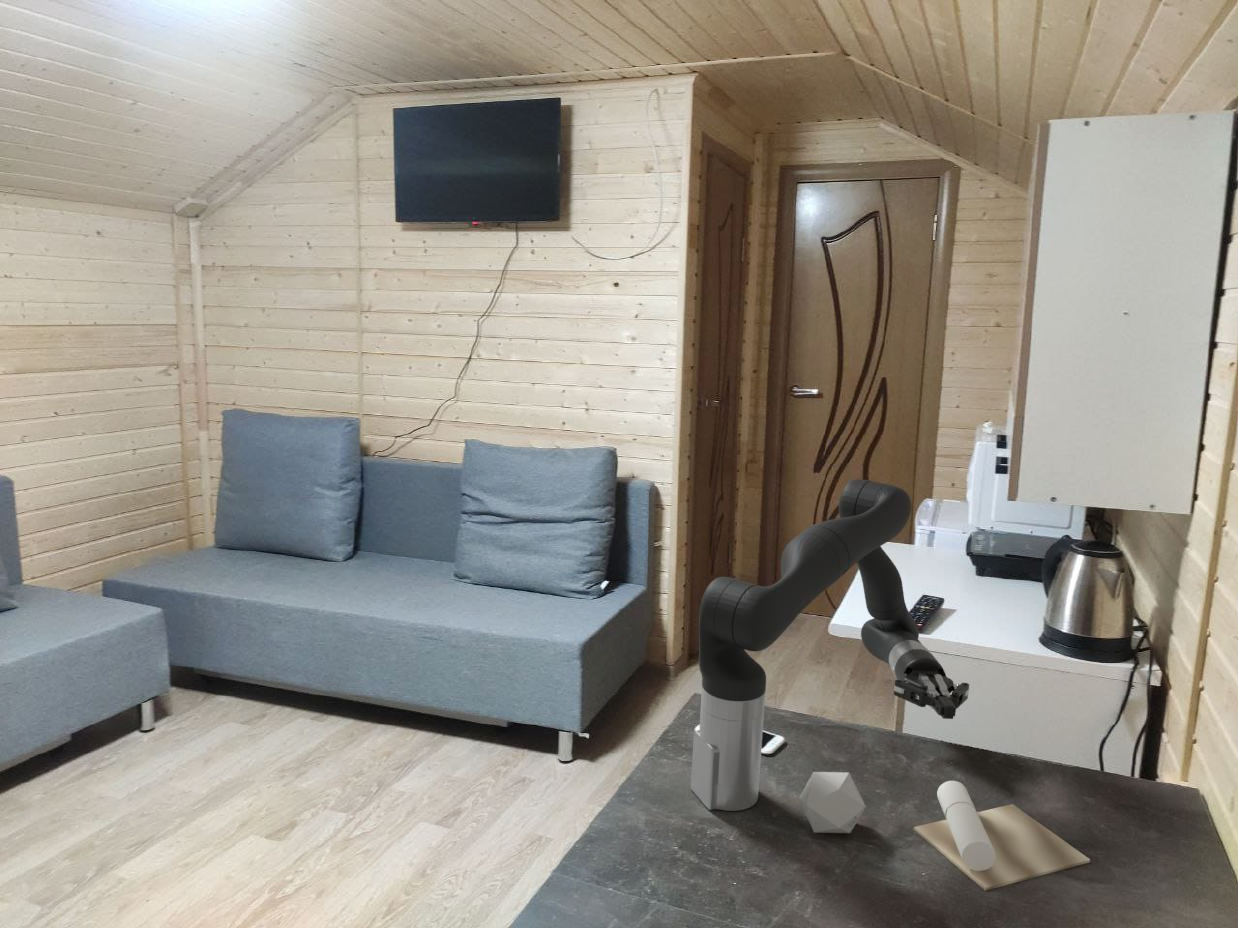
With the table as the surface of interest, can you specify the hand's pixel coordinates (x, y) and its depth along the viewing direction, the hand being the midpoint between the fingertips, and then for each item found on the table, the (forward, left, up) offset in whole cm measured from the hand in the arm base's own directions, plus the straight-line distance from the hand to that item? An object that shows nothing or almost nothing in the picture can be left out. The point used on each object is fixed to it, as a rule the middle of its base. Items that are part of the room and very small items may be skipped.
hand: (949, 713), depth 147 cm
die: (-26, -8, -10) cm, 29 cm away
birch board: (-6, -19, -10) cm, 22 cm away
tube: (-7, -10, -7) cm, 14 cm away
